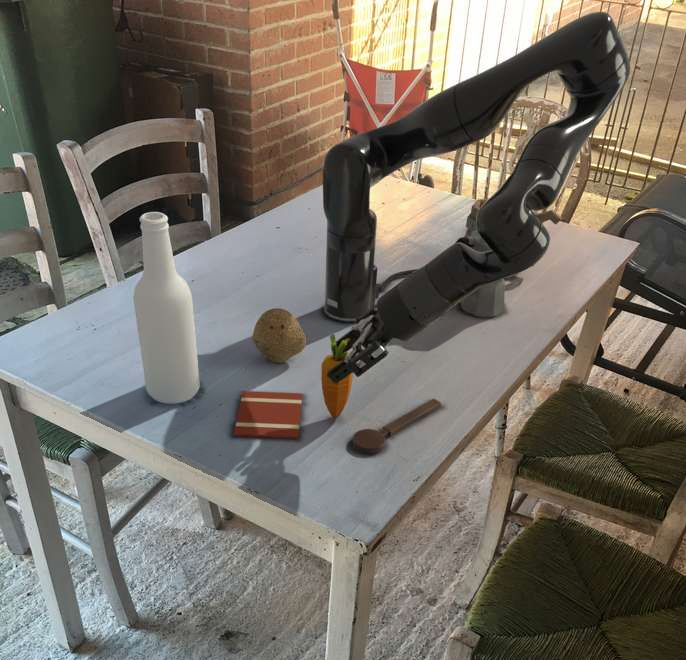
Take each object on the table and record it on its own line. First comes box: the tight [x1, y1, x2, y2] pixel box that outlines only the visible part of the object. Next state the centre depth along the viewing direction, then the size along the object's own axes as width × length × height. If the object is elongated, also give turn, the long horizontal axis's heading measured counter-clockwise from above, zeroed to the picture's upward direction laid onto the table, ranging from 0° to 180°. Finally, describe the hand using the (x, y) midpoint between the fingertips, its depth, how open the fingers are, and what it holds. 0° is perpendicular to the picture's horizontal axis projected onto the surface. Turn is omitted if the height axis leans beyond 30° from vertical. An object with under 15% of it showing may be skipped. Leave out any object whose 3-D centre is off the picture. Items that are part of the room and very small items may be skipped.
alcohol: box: [132, 211, 201, 405], centre depth 118 cm, size 9×9×30 cm
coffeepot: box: [454, 230, 505, 318], centre depth 150 cm, size 15×9×18 cm, turn 110°
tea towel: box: [233, 390, 303, 440], centre depth 123 cm, size 10×12×1 cm
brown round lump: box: [252, 307, 307, 364], centre depth 134 cm, size 9×9×10 cm
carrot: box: [321, 333, 354, 420], centre depth 119 cm, size 5×5×15 cm
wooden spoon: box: [352, 398, 442, 455], centre depth 122 cm, size 19×5×1 cm, turn 134°
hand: (334, 363), depth 117 cm, fingers open, 8 cm apart
